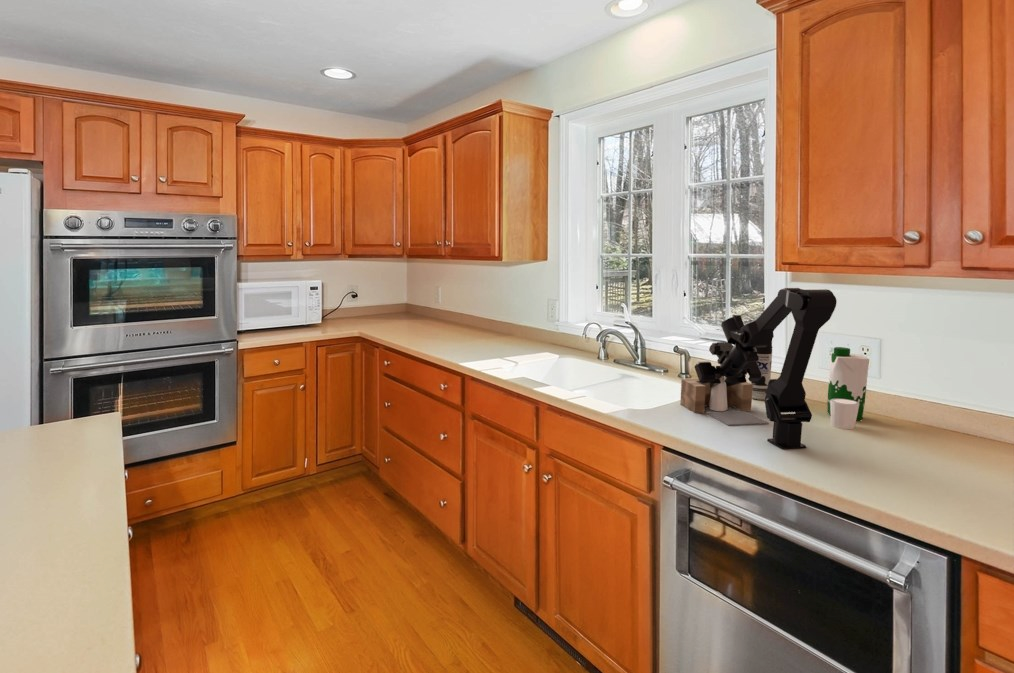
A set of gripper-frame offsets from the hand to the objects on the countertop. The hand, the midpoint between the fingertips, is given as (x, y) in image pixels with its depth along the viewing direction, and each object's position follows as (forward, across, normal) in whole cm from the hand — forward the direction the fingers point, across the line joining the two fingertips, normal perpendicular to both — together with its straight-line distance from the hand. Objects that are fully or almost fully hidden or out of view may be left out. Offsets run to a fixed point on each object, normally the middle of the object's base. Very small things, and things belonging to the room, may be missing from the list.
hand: (716, 386), depth 173 cm
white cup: (-11, -25, +21) cm, 34 cm away
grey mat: (-4, 0, +13) cm, 14 cm away
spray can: (+12, -20, -2) cm, 23 cm away
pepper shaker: (+4, 0, +6) cm, 7 cm away
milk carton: (-5, -32, +15) cm, 36 cm away
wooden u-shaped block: (+5, 0, +4) cm, 7 cm away
